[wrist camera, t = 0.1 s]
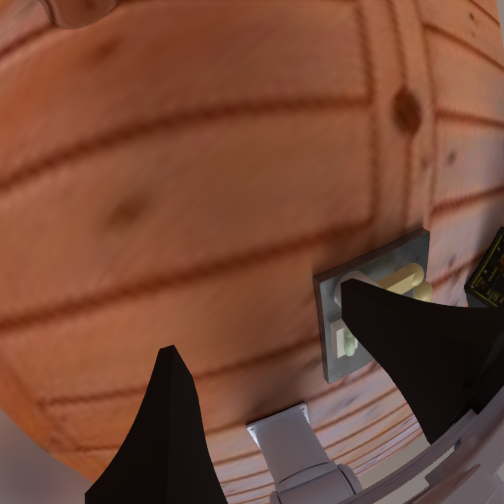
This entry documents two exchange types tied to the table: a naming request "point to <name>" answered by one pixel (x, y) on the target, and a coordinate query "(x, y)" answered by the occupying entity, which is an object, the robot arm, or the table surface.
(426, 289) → the beige knobbed bar
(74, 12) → the beer glass
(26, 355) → the table surface
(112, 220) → the table surface
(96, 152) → the table surface
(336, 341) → the bubble vial
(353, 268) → the levelling plate
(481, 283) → the voltmeter
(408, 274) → the footscrew grey
